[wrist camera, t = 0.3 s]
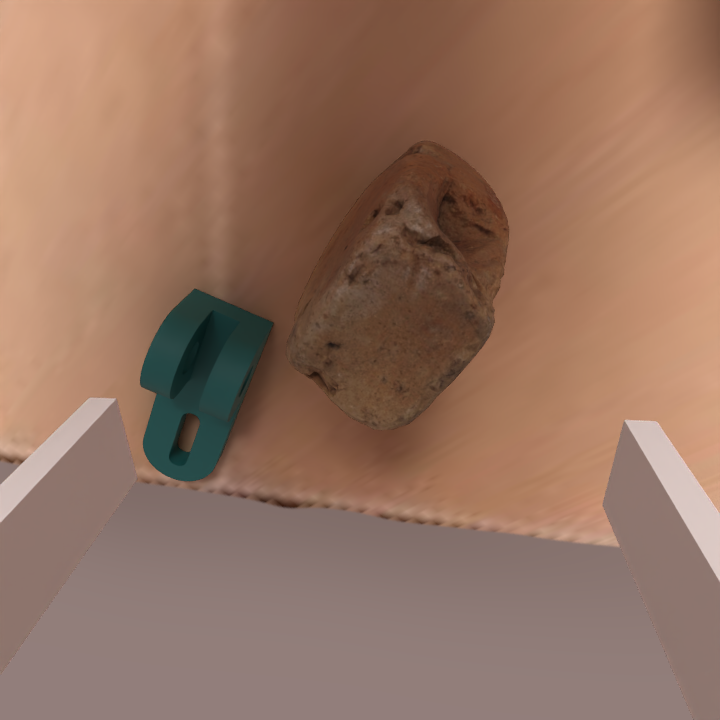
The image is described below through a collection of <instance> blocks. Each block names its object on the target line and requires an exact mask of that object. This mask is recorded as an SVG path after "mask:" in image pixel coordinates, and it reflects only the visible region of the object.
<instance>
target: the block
mask: <svg viewBox="0 0 720 720" xmlns="http://www.w3.org/2000/svg"><path fill="white" fill-rule="evenodd" d="M508 240H509V226H508V220H507V217H506V214H505V212H504V210H503V207H502V205H501V203H500V201H499V200H498V198H497V197H496V195H495V193H494V191H493V190H492V188H491V187H490V186H489V184H488V183H487V182H486V181H485V180H484V179H483V177H482V176H481V175H480V174H479V173H478V172H477V171H476V170H475V169H474V168H472V167H471V166H470V165H469V164H468V163H466V162H465V161H464V160H463V159H461V158H460V157H458V156H457V155H456V154H454V153H453V152H451V151H449V150H448V149H446V148H445V147H443V146H441V145H439V144H437V143H434V142H430V141H421V142H419V143H417V144H415V145H414V146H412V147H411V148H410V149H409V150H408V151H407V152H406V153H404V154H403V155H402V156H401V157H400V158H399V159H398V160H396V161H395V162H394V163H393V164H392V165H390V166H389V167H388V168H387V169H386V170H385V171H384V172H383V173H382V174H380V175H379V176H378V177H377V178H376V179H375V180H374V181H373V182H372V183H371V184H370V185H369V186H368V188H367V189H366V190H365V191H364V192H363V194H362V195H361V196H360V197H359V199H358V200H357V201H356V203H355V204H354V206H353V207H352V208H351V210H350V211H349V212H348V214H347V215H346V216H345V218H344V219H343V221H342V223H341V224H340V226H339V227H338V229H337V231H336V232H335V234H334V235H333V237H332V239H331V240H330V242H329V243H328V245H327V247H326V248H325V250H324V252H323V254H322V256H321V257H320V259H319V261H318V263H317V265H316V267H315V269H314V271H313V273H312V275H311V277H310V279H309V281H308V283H307V285H306V287H305V291H304V293H303V294H302V297H301V299H300V301H299V304H298V307H297V311H296V313H295V324H294V326H293V329H292V331H291V334H290V336H289V339H288V341H287V348H286V356H287V358H288V360H289V362H290V363H291V364H292V366H293V367H294V368H295V369H296V370H297V371H299V372H300V373H302V374H305V375H306V376H307V377H308V378H310V379H313V380H314V381H315V382H316V383H317V384H318V385H319V387H320V388H321V389H322V390H323V391H324V392H325V393H326V394H327V396H328V397H329V398H330V400H331V401H333V402H334V403H335V404H336V405H337V406H338V407H339V408H340V409H341V410H342V411H344V412H345V413H346V414H347V415H348V416H349V417H350V418H352V419H354V420H356V421H358V422H360V423H362V424H364V425H367V426H369V427H370V428H372V429H376V430H390V429H396V428H398V427H400V426H403V425H407V424H409V423H411V422H412V421H413V420H414V419H415V418H416V417H418V416H419V415H420V414H421V413H422V412H423V411H425V410H426V409H427V408H428V407H429V406H430V404H431V403H432V402H433V401H434V399H435V398H436V397H437V396H438V395H439V394H440V393H441V392H442V391H443V390H444V389H445V388H446V387H447V386H449V385H450V384H451V383H452V382H453V381H454V379H455V378H456V377H457V376H458V375H459V374H460V373H461V372H462V370H463V369H464V368H465V367H466V366H467V365H468V364H469V363H470V361H471V360H472V359H473V358H474V357H475V355H476V354H477V353H478V352H479V350H480V349H481V348H482V347H483V345H484V344H485V342H486V341H487V339H488V338H489V336H490V333H491V331H492V328H493V325H494V323H495V320H494V311H495V310H494V308H493V306H492V304H493V299H494V297H495V296H496V294H497V292H498V290H499V288H500V281H501V280H500V279H501V278H502V276H503V275H504V265H505V262H506V253H507V247H508Z"/></svg>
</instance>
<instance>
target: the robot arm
mask: <svg viewBox="0 0 720 720" xmlns="http://www.w3.org/2000/svg"><path fill="white" fill-rule="evenodd" d="M136 480H137V475H136V471H135V467H134V463H133V459H132V456H131V452H130V448H129V444H128V440H127V436H126V433H125V429H124V425H123V421H122V417H121V414H120V410H119V406H118V402H117V399H115V398H92V397H89V398H88V399H87V400H86V401H85V402H84V403H83V404H82V405H81V406H80V407H79V408H78V409H77V410H76V411H75V412H74V413H73V414H72V415H71V416H70V417H69V418H68V419H67V420H66V421H65V422H64V423H63V424H62V425H61V426H60V427H59V428H58V429H57V430H56V431H55V432H54V433H53V434H52V435H51V436H50V437H49V438H48V439H47V440H46V441H45V442H44V443H42V444H41V445H40V446H39V447H38V448H37V449H36V450H35V451H34V452H33V453H32V454H31V455H30V456H29V457H28V458H27V459H26V460H25V461H24V462H23V463H22V464H21V465H20V466H19V467H18V468H17V469H16V470H15V471H14V472H13V473H12V474H11V475H10V476H9V477H8V478H7V479H6V480H5V481H4V482H3V483H2V484H1V485H0V675H1V674H2V672H3V671H4V669H5V668H6V667H7V665H8V664H9V662H10V661H11V659H12V658H13V657H14V655H15V654H16V652H17V651H18V649H19V648H20V647H21V645H22V644H23V642H24V641H25V639H26V638H27V637H28V635H29V634H30V632H31V631H32V629H33V628H34V627H35V625H36V624H37V622H38V621H39V619H40V618H41V616H42V615H43V614H44V612H45V611H46V609H47V608H48V606H49V605H50V603H51V602H52V600H53V599H54V598H55V596H56V595H57V594H58V592H59V590H60V589H61V588H62V586H63V585H64V584H65V582H66V581H67V579H68V578H69V576H70V575H71V573H72V572H73V570H74V569H75V568H76V566H77V565H78V563H79V562H80V561H81V559H82V558H83V556H84V555H85V553H86V552H87V551H88V549H89V548H90V546H91V545H92V543H93V542H94V541H95V539H96V537H97V536H98V535H99V533H100V532H101V530H102V529H103V528H104V526H105V525H106V523H107V522H108V520H109V519H110V517H111V516H112V515H113V513H114V512H115V510H116V509H117V508H118V506H119V505H120V503H121V502H122V500H123V499H124V497H125V496H126V495H127V493H128V492H129V490H130V489H131V487H132V486H133V485H134V483H135V482H136ZM603 508H604V510H605V512H606V515H607V517H608V519H609V522H610V524H611V526H612V529H613V531H614V533H615V536H616V538H617V541H618V543H619V545H620V548H621V550H622V552H623V555H624V557H625V559H626V562H627V564H628V566H629V569H630V571H631V574H632V576H633V578H634V581H635V583H636V585H637V588H638V590H639V593H640V595H641V597H642V600H643V602H644V604H645V607H646V609H647V611H648V614H649V616H650V619H651V621H652V623H653V626H654V628H655V630H656V633H657V635H658V637H659V640H660V642H661V645H662V647H663V649H664V652H665V654H666V656H667V659H668V661H669V663H670V666H671V668H672V671H673V673H674V675H675V678H676V680H677V682H678V685H679V687H680V689H681V692H682V694H683V697H684V699H685V701H686V704H687V706H688V708H689V711H690V713H691V715H692V718H693V720H720V513H719V512H718V511H717V509H716V508H715V506H714V505H713V503H712V502H711V500H710V499H709V497H708V496H707V494H706V493H705V491H704V490H703V489H702V487H701V486H700V484H699V483H698V481H697V480H696V478H695V477H694V475H693V474H692V472H691V471H690V469H689V468H688V467H687V465H686V464H685V462H684V461H683V459H682V458H681V456H680V455H679V453H678V452H677V450H676V449H675V447H674V446H673V445H672V443H671V442H670V440H669V439H668V437H667V436H666V434H665V433H664V431H663V430H662V428H661V427H660V425H659V424H658V422H657V421H638V420H624V423H623V427H622V431H621V434H620V438H619V442H618V446H617V450H616V454H615V458H614V462H613V466H612V470H611V473H610V477H609V481H608V485H607V489H606V493H605V497H604V501H603Z"/></svg>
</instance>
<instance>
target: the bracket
mask: <svg viewBox="0 0 720 720" xmlns="http://www.w3.org/2000/svg"><path fill="white" fill-rule="evenodd" d="M272 326H273V322H271V321H268V320H266V319H264V318H261V317H259V316H257V315H255V314H252V313H250V312H248V311H245V310H243V309H241V308H238V307H236V306H234V305H232V304H229V303H227V302H225V301H222V300H220V299H218V298H215V297H213V296H211V295H208V294H206V293H204V292H202V291H199V290H197V289H194V290H193V291H192V292H191V293H190V294H189V295H188V296H187V297H186V298H185V299H183V300H182V301H181V302H180V303H179V304H178V305H177V306H176V307H175V308H174V309H173V310H172V311H171V312H170V313H169V315H168V316H167V317H166V319H165V320H164V322H163V323H162V325H161V326H160V328H159V330H158V332H157V333H156V335H155V337H154V339H153V341H152V343H151V346H150V348H149V350H148V353H147V355H146V358H145V361H144V364H143V367H142V371H141V377H140V385H141V387H143V388H145V389H147V390H150V391H152V392H155V393H157V395H156V398H155V401H154V405H153V408H152V412H151V415H150V418H149V422H148V425H147V428H146V432H145V435H144V439H143V448H144V452H145V455H146V457H147V459H148V460H149V462H150V463H151V464H152V465H153V466H154V467H155V468H156V469H157V470H158V471H159V472H161V473H162V474H164V475H166V476H168V477H170V478H173V479H176V480H180V481H196V480H200V479H203V478H205V477H206V476H208V475H209V474H210V473H211V472H212V471H213V469H214V468H215V466H216V464H217V462H218V460H219V458H220V456H221V454H222V452H223V450H224V447H225V445H226V442H227V440H228V437H229V435H230V432H231V430H232V427H233V425H234V422H235V419H236V417H237V414H238V412H239V409H240V407H241V404H242V402H243V399H244V397H245V394H246V392H247V389H248V387H249V384H250V381H251V379H252V376H253V374H254V371H255V369H256V366H257V364H258V361H259V359H260V356H261V354H262V351H263V349H264V346H265V343H266V341H267V338H268V336H269V333H270V331H271V328H272ZM187 413H191V414H194V415H196V416H197V417H198V418H199V420H200V426H199V429H198V432H197V434H196V437H195V440H194V443H193V446H192V448H191V451H190V452H185V451H183V450H181V449H180V448H179V446H178V440H179V437H180V434H181V431H182V428H183V425H184V422H185V419H186V416H187Z"/></svg>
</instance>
